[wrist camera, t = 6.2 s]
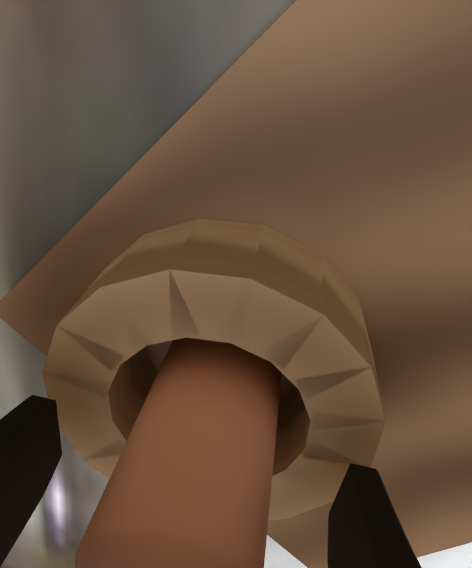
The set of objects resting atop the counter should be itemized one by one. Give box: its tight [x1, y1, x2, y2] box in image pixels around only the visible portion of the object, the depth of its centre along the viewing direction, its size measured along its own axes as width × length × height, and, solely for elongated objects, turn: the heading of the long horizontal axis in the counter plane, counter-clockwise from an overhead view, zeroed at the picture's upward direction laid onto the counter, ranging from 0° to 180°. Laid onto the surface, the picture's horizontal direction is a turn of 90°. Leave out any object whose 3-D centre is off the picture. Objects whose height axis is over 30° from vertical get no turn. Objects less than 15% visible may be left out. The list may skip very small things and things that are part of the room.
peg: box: [75, 337, 282, 568], centre depth 11 cm, size 4×4×7 cm
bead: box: [42, 218, 386, 520], centre depth 13 cm, size 9×9×3 cm
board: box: [0, 0, 472, 568], centre depth 14 cm, size 19×17×1 cm
